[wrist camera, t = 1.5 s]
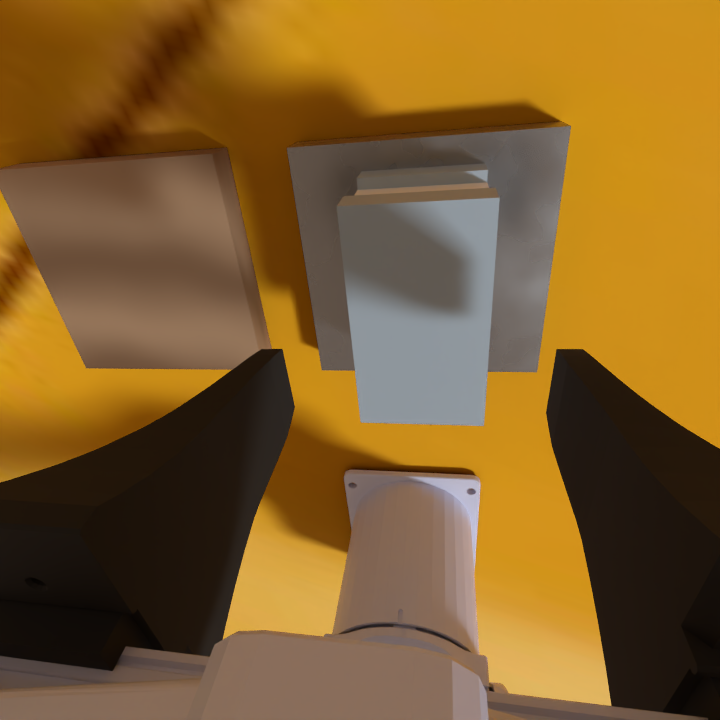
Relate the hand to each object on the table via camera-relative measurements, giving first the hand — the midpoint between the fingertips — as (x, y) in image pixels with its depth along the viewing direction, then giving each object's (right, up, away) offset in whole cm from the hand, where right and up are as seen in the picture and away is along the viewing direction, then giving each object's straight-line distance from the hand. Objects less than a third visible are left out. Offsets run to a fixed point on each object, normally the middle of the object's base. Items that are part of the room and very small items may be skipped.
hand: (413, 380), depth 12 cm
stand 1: (-11, +5, +10) cm, 16 cm away
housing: (+1, +4, +7) cm, 8 cm away
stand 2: (+1, +5, +8) cm, 10 cm away
